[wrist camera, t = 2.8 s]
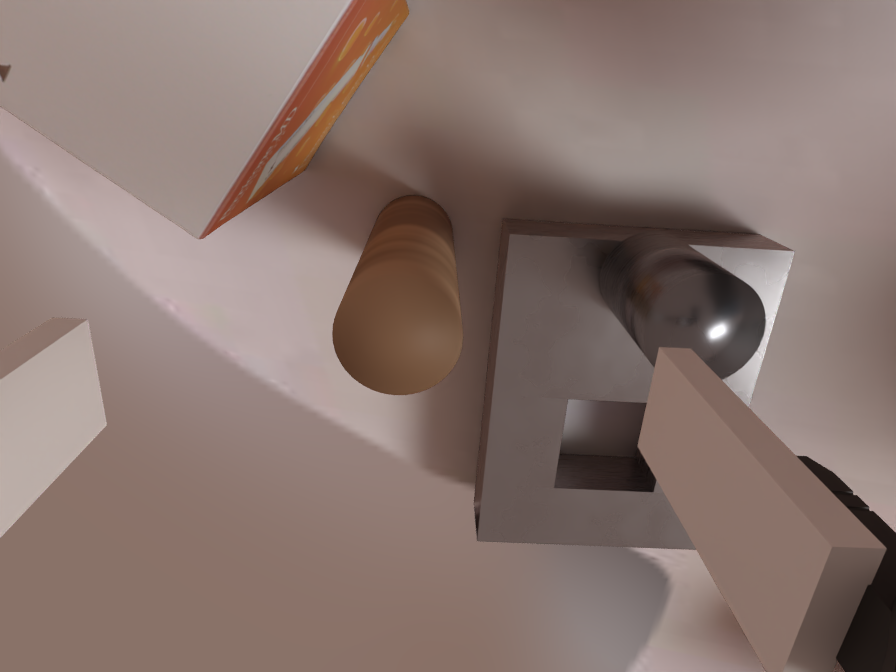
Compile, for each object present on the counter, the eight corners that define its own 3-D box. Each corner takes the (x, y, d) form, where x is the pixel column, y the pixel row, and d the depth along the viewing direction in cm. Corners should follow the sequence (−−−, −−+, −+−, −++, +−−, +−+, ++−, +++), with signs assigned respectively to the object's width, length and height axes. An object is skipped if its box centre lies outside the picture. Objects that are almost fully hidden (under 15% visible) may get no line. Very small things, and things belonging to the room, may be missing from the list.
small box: (305, 173, 27) (197, 250, 15) (176, 76, 25) (-67, 73, 13) (416, 10, 24) (395, -59, 12) (280, -109, 23) (102, -324, 11)
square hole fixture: (503, 207, 27) (532, 263, 19) (762, 223, 28) (901, 284, 19) (473, 503, 34) (485, 641, 25) (684, 512, 34) (763, 650, 26)
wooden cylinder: (375, 192, 27) (331, 271, 16) (455, 197, 27) (467, 279, 16) (373, 270, 28) (332, 392, 17) (450, 274, 28) (458, 397, 17)
